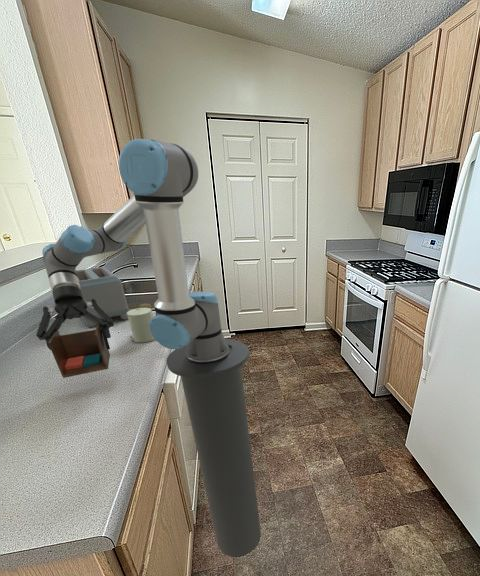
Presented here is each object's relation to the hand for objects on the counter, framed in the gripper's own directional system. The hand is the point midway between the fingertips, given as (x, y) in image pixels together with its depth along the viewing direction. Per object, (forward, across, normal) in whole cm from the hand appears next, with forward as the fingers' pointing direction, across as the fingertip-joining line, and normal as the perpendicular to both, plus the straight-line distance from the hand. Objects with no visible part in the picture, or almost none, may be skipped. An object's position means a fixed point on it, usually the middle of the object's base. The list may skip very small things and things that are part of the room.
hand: (83, 352), depth 98 cm
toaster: (-45, -6, -62) cm, 77 cm away
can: (-14, -19, -31) cm, 39 cm away
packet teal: (+2, -2, -3) cm, 4 cm away
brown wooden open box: (+3, 0, -4) cm, 5 cm away
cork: (-22, -23, -38) cm, 50 cm away
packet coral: (+1, +3, -4) cm, 5 cm away
